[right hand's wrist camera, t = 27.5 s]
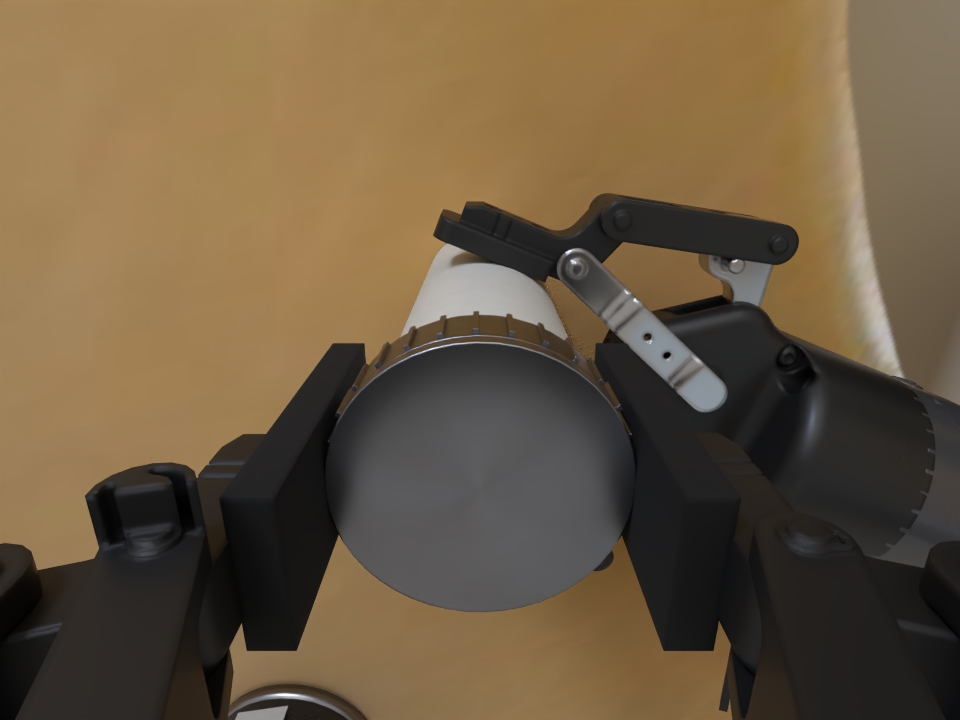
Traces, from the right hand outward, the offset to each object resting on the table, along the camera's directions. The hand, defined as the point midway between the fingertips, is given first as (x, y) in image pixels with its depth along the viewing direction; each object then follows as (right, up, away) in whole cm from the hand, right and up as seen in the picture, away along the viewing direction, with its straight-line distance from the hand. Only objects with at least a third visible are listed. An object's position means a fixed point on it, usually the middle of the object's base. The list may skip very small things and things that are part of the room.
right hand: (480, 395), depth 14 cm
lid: (0, -1, -4) cm, 4 cm away
